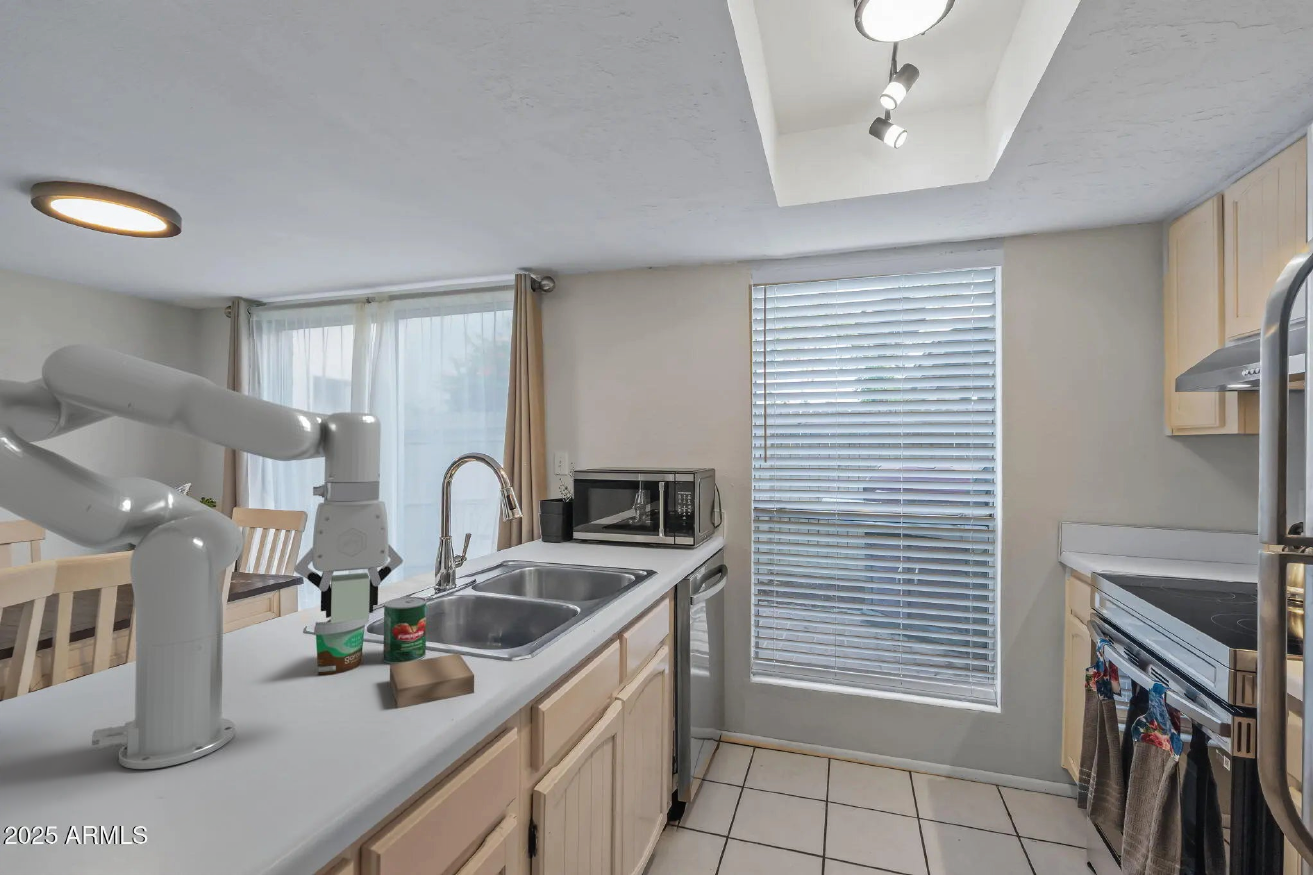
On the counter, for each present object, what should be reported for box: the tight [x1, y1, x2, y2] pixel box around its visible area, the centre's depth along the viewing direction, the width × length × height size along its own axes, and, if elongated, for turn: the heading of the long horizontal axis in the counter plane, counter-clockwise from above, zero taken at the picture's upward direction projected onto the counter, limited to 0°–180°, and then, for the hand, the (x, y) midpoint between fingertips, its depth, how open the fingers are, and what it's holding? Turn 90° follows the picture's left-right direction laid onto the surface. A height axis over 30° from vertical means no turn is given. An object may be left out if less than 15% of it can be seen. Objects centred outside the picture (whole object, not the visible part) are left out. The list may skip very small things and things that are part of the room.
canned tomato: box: [382, 596, 428, 665], centre depth 118 cm, size 8×8×11 cm
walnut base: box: [389, 653, 475, 709], centre depth 103 cm, size 12×12×3 cm
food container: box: [313, 618, 370, 677], centre depth 113 cm, size 12×6×10 cm, turn 179°
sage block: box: [330, 572, 370, 623], centre depth 90 cm, size 5×5×6 cm
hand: (349, 611), depth 90 cm, fingers closed on sage block, 5 cm apart
